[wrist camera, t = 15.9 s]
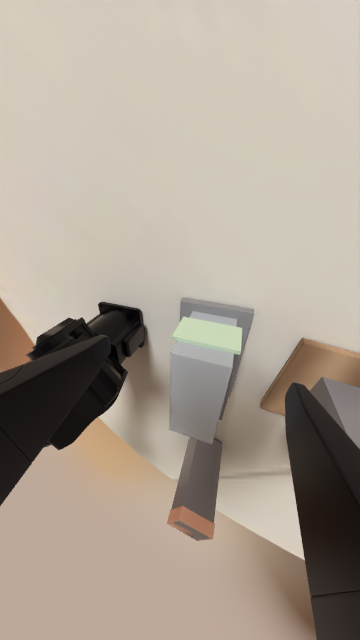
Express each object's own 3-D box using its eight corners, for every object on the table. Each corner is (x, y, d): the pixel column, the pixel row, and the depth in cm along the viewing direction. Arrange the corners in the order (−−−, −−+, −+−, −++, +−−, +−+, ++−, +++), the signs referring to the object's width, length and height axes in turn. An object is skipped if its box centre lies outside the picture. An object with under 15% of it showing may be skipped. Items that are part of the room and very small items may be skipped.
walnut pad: (260, 401, 27) (261, 407, 26) (302, 338, 20) (304, 343, 19) (352, 433, 25) (356, 441, 24) (433, 374, 18) (442, 382, 17)
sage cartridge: (298, 402, 24) (337, 551, 13) (321, 375, 21) (392, 539, 11) (344, 417, 23) (421, 589, 13) (374, 391, 20) (507, 587, 10)
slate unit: (179, 377, 30) (158, 430, 23) (183, 297, 22) (153, 339, 15) (230, 391, 28) (224, 453, 21) (253, 309, 20) (256, 363, 13)
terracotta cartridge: (188, 439, 39) (167, 523, 29) (198, 430, 36) (179, 519, 26) (210, 452, 39) (197, 540, 28) (223, 443, 35) (212, 539, 25)
